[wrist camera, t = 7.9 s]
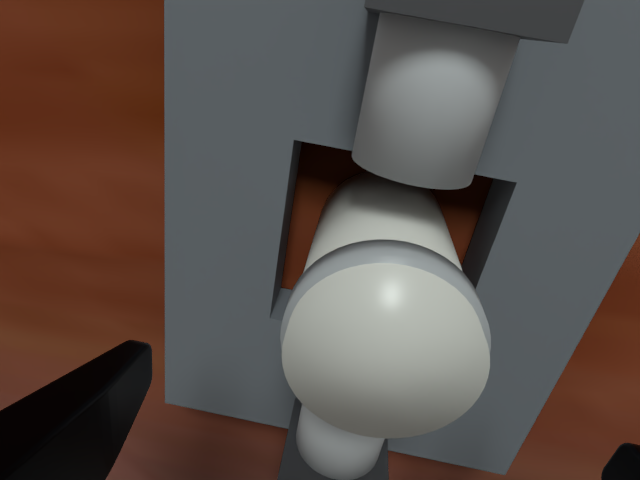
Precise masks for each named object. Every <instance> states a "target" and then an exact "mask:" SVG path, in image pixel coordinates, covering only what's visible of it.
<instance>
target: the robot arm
mask: <svg viewBox="0 0 640 480" xmlns="http://www.w3.org/2000/svg"><path fill="white" fill-rule="evenodd" d="M151 380H152V349H151V346H150V345H149V344H148V343H144V342H139V341H135V340H128V341H126V342H124V343H122V344H120V345H118V346H116V347H115V348H113V349H111V350H109V351H107V352H106V353H104V354H102V355H100V356H98V357H97V358H95V359H93V360H91V361H89V362H87V363H86V364H84V365H82V366H80V367H78V368H77V369H75V370H73V371H71V372H69V373H68V374H66V375H64V376H62V377H60V378H59V379H57V380H55V381H53V382H51V383H50V384H48V385H46V386H44V387H42V388H41V389H39V390H37V391H35V392H33V393H31V394H30V395H28V396H26V397H24V398H22V399H21V400H19V401H17V402H15V403H13V404H12V405H10V406H8V407H6V408H4V409H3V410H1V411H0V480H105V479H106V478H107V476H108V474H109V472H110V470H111V469H112V467H113V465H114V463H115V461H116V459H117V457H118V455H119V453H120V451H121V448H122V446H123V444H124V442H125V440H126V437H127V435H128V433H129V431H130V429H131V427H132V424H133V422H134V420H135V418H136V416H137V413H138V411H139V409H140V407H141V405H142V402H143V400H144V398H145V396H146V394H147V391H148V389H149V387H150V384H151ZM601 479H602V480H640V445H636V444H631V443H624V444H622V445H620V446H619V447H618V449H617V450H616V452H615V453H614V454H613V456H612V457H611V459H610V460H609V461H608V463H607V464H606V466H605V467H604V469H603V471H602V477H601Z"/></svg>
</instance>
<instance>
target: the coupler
mask: <svg viewBox="0 0 640 480" xmlns="http://www.w3.org/2000/svg"><path fill="white" fill-rule="evenodd" d="M280 341H281V349H282V366H283V370H284V374H285V377H286V379H287V382H288V384H289V386H290V388H291V389H292V391H293V393H294V394H295V396H296V397H297V398H298V399H299V400H300V402H301V403H302V404H303V405H304V406H305V407H306V408H307V409H308V410H309V411H311V412H312V413H313V414H315V415H316V416H317V417H319V418H320V419H322V420H323V421H325V422H327V423H328V424H331V425H333V426H335V427H337V428H339V429H342V430H344V431H347V432H350V433H354V434H358V435H361V436H367V437H373V438H405V437H413V436H418V435H422V434H426V433H429V432H432V431H435V430H437V429H440V428H442V427H444V426H446V425H448V424H450V423H451V422H453V421H455V420H456V419H458V418H459V417H460V416H462V415H463V414H464V413H465V412H466V411H468V410H469V409H470V408H471V407H472V406H473V404H474V403H475V402H476V401H477V399H478V398H479V397H480V395H481V393H482V391H483V389H484V388H485V385H486V382H487V379H488V375H489V370H490V350H491V334H490V329H489V324H488V321H487V318H486V316H485V313H484V310H483V307H482V305H481V302H480V299H479V297H478V294H477V292H476V290H475V288H474V286H473V285H472V283H471V282H470V280H469V279H468V278H467V276H466V275H465V274H464V273H463V271H462V268H461V265H460V263H459V260H458V257H457V254H456V251H455V248H454V245H453V242H452V239H451V237H450V234H449V231H448V228H447V225H446V222H445V219H444V216H443V213H442V211H441V208H440V205H439V203H438V201H437V199H436V198H435V196H434V195H433V194H432V192H431V191H430V190H429V189H428V188H423V187H417V186H412V185H408V184H404V183H400V182H396V181H393V180H389V179H387V178H384V177H381V176H378V175H376V174H374V173H372V172H369V171H367V172H364V173H360V174H358V175H355V176H353V177H351V178H349V179H347V180H345V181H344V182H343V183H341V184H340V185H339V186H338V187H337V188H336V189H335V190H334V191H333V192H332V193H331V194H330V196H329V197H328V198H327V200H326V202H325V204H324V206H323V209H322V211H321V215H320V218H319V221H318V225H317V228H316V231H315V235H314V238H313V242H312V245H311V248H310V252H309V255H308V259H307V262H306V265H305V269H304V272H303V274H302V275H301V276H300V278H299V279H298V281H297V283H296V284H295V286H294V288H293V290H292V293H291V295H290V298H289V301H288V304H287V307H286V310H285V313H284V316H283V320H282V325H281V333H280Z"/></svg>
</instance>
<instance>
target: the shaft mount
mask: <svg viewBox="0 0 640 480" xmlns="http://www.w3.org/2000/svg"><path fill="white" fill-rule="evenodd" d="M164 63H165V403H169V404H174V405H178V406H183V407H188V408H192V409H197V410H202V411H206V412H211V413H216V414H221V415H225V416H230V417H235V418H239V419H244V420H249V421H253V422H258V423H263V424H267V425H272V426H277V427H282V428H286V429H288V433H287V438H286V442H285V447H284V451H283V456H282V461H281V465H280V470H279V474H278V479H277V480H389V478H388V450H389V451H394V452H399V453H404V454H408V455H413V456H418V457H422V458H427V459H432V460H436V461H441V462H446V463H451V464H455V465H460V466H465V467H469V468H474V469H479V470H483V471H488V472H493V473H497V474H502V475H505V474H506V472H507V470H508V469H509V467H510V465H511V463H512V462H513V460H514V458H515V456H516V454H517V453H518V451H519V449H520V447H521V445H522V444H523V442H524V440H525V438H526V436H527V435H528V433H529V431H530V429H531V427H532V426H533V424H534V422H535V420H536V418H537V417H538V415H539V413H540V411H541V409H542V408H543V406H544V404H545V402H546V400H547V399H548V397H549V395H550V393H551V391H552V390H553V388H554V386H555V384H556V382H557V381H558V379H559V377H560V375H561V373H562V372H563V370H564V368H565V366H566V364H567V363H568V361H569V359H570V357H571V355H572V354H573V352H574V350H575V348H576V346H577V345H578V343H579V341H580V339H581V337H582V336H583V334H584V332H585V330H586V328H587V327H588V325H589V323H590V321H591V319H592V318H593V316H594V314H595V312H596V310H597V309H598V307H599V305H600V303H601V301H602V300H603V298H604V296H605V294H606V292H607V291H608V289H609V287H610V285H611V283H612V282H613V280H614V278H615V276H616V274H617V273H618V271H619V269H620V267H621V265H622V264H623V262H624V260H625V258H626V256H627V255H628V253H629V251H630V249H631V247H632V246H633V244H634V242H635V240H636V238H637V237H638V235H639V233H640V0H164ZM302 141H303V142H308V143H313V144H318V145H324V146H329V147H334V148H339V149H344V150H350V151H352V159H353V160H354V161H355V163H357V164H358V165H359V166H361V167H362V168H364V169H366V170H367V171H369V172H372V173H374V174H376V175H378V176H381V177H384V178H387V179H389V180H393V181H396V182H400V183H404V184H408V185H412V186H417V187H423V188H431V189H443V190H452V189H461V188H465V187H467V186H469V185H470V184H471V182H472V179H473V176H474V174H475V175H480V176H485V177H490V178H493V181H492V184H491V187H490V189H489V192H488V195H487V198H486V201H485V203H484V206H483V209H482V212H481V214H480V217H479V220H478V223H477V225H476V228H475V231H474V234H473V237H472V239H471V242H470V245H469V248H468V250H467V253H466V256H465V259H464V261H463V264H462V267H461V268H462V271H463V273H464V274H465V275H466V276H467V278H468V279H469V280H470V282H471V283H472V285H473V286H474V288H475V290H476V292H477V294H478V297H479V299H480V302H481V305H482V307H483V310H484V313H485V316H486V318H487V321H488V324H489V329H490V334H491V350H490V370H489V375H488V379H487V382H486V385H485V388H484V389H483V391H482V393H481V395H480V397H479V398H478V399H477V401H476V402H475V403H474V404H473V406H472V407H471V408H470V409H469V410H468V411H466V412H465V413H464V414H463V415H462V416H460V417H459V418H458V419H456V420H455V421H453V422H451V423H450V424H448V425H446V426H444V427H442V428H440V429H437V430H435V431H432V432H429V433H426V434H422V435H418V436H413V437H405V438H373V437H367V436H361V435H358V434H354V433H350V432H347V431H344V430H342V429H339V428H337V427H335V426H333V425H331V424H328V423H327V422H325V421H323V420H322V419H320V418H319V417H317V416H316V415H315V414H313V413H312V412H311V411H309V410H308V409H307V408H306V407H305V406H304V405H303V404H302V403H301V402H300V400H299V399H298V398H297V397H296V396H295V394H294V393H293V391H292V389H291V388H290V386H289V384H288V382H287V379H286V377H285V374H284V370H283V366H282V349H281V341H280V333H281V325H282V320H283V316H284V313H285V310H286V307H287V304H288V301H289V298H290V295H291V293H292V290H289V289H285V288H281V283H282V276H283V269H284V262H285V255H286V248H287V241H288V234H289V227H290V220H291V213H292V206H293V199H294V192H295V186H296V179H297V172H298V165H299V158H300V151H301V144H302Z"/></svg>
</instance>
